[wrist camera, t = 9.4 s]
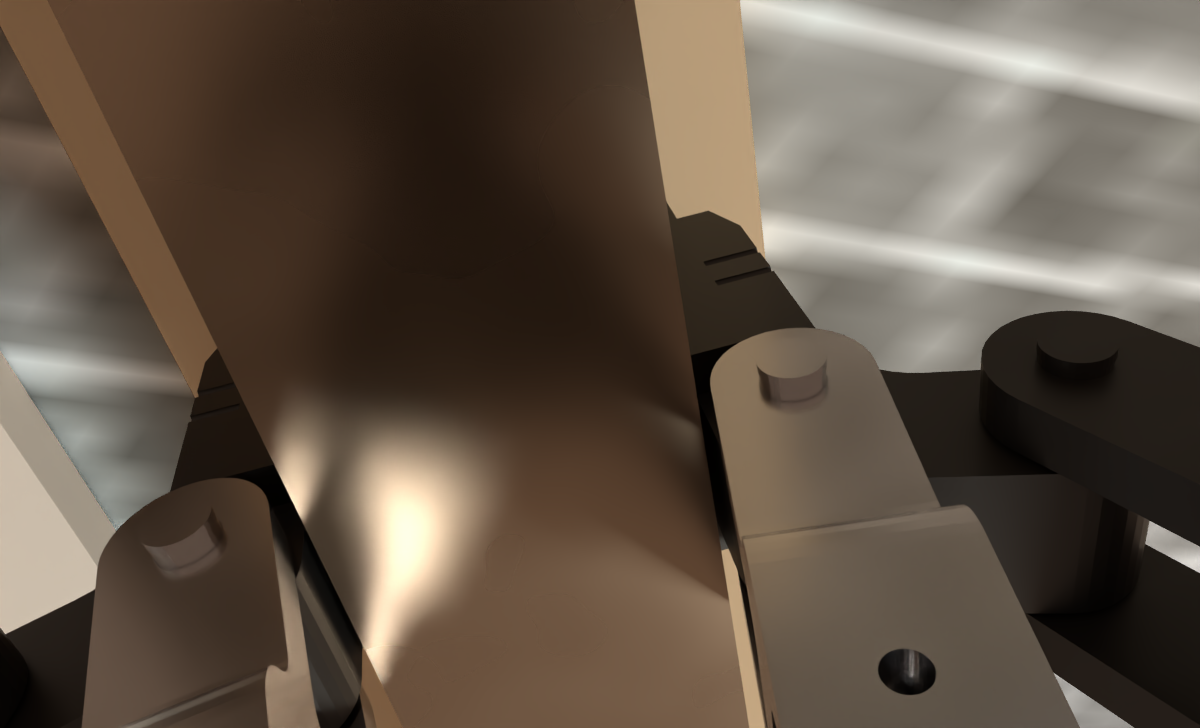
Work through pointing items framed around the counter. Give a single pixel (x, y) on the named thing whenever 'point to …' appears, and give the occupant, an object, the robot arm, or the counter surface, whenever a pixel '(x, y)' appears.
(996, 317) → the counter surface
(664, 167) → the tray
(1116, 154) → the counter surface
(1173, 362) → the robot arm
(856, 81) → the counter surface
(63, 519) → the rack
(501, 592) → the rail
